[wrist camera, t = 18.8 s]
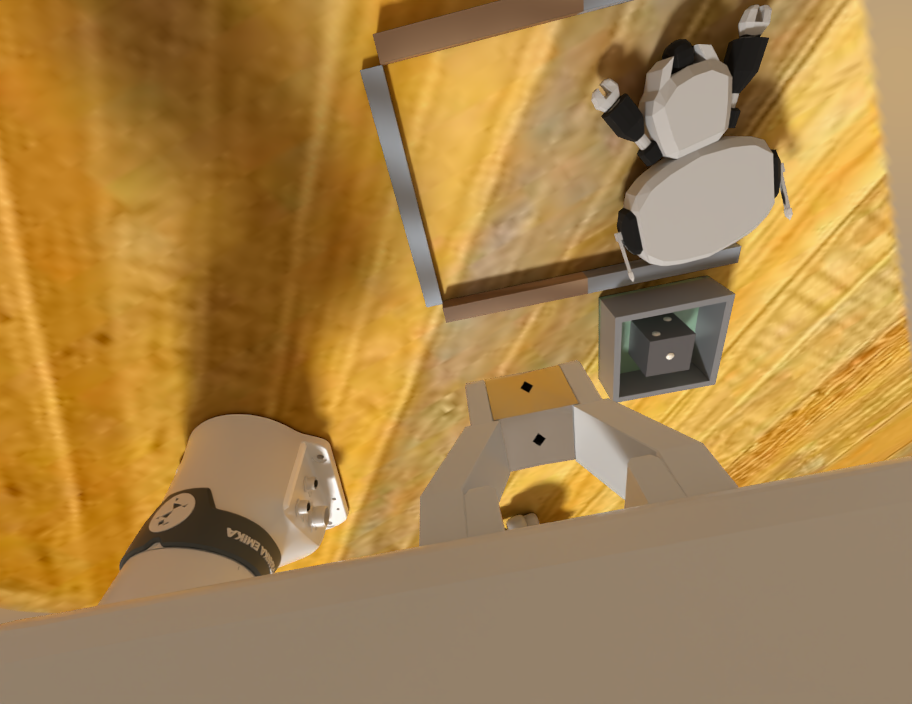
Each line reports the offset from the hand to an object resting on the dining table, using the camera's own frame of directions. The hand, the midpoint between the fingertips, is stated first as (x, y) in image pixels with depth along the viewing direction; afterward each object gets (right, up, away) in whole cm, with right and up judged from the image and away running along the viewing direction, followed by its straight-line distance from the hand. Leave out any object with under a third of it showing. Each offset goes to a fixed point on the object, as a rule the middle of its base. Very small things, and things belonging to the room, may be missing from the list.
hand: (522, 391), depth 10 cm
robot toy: (+15, +17, +20) cm, 30 cm away
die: (+18, +3, +28) cm, 33 cm away
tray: (+18, +3, +29) cm, 34 cm away
